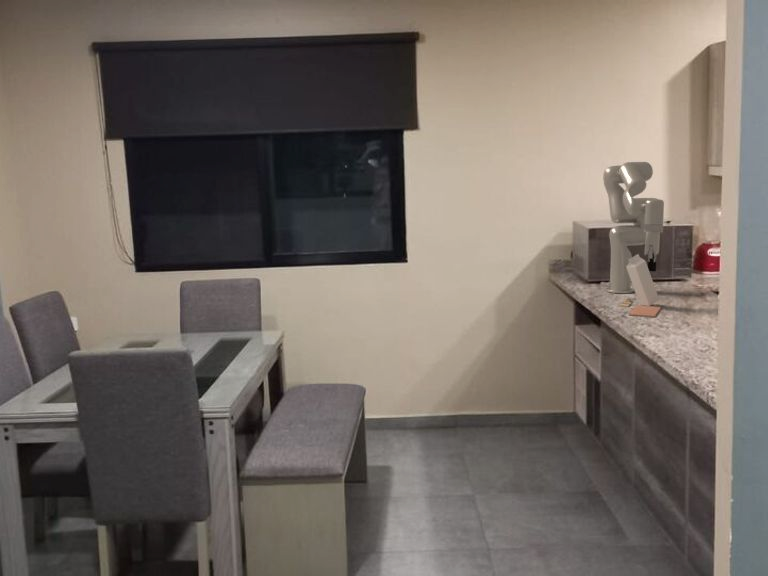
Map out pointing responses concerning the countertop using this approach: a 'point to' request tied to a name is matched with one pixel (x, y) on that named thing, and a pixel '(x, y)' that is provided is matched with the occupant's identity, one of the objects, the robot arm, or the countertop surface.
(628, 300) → the turner
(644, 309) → the mat
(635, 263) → the milk
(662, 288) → the countertop surface
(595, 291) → the countertop surface
